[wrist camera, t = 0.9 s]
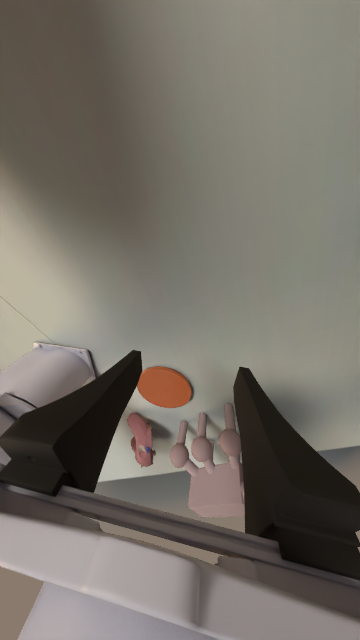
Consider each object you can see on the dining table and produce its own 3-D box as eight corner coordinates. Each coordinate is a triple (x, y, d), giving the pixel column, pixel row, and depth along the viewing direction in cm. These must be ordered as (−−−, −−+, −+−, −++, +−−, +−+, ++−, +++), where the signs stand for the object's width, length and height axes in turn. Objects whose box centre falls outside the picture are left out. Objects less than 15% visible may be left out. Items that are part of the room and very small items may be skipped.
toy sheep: (278, 375, 23) (345, 529, 12) (313, 419, 26) (396, 577, 14) (172, 417, 32) (149, 529, 20) (207, 446, 35) (205, 559, 23)
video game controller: (151, 433, 39) (157, 471, 33) (130, 439, 37) (133, 479, 32) (150, 406, 34) (157, 444, 28) (126, 412, 32) (128, 453, 27)
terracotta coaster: (140, 400, 31) (138, 403, 30) (135, 362, 26) (134, 365, 26) (189, 408, 30) (189, 412, 29) (193, 371, 25) (193, 374, 25)
